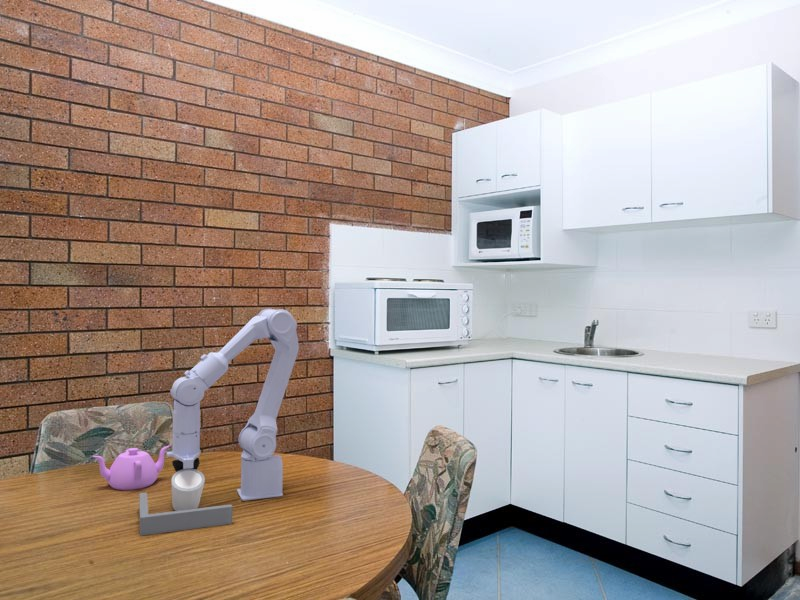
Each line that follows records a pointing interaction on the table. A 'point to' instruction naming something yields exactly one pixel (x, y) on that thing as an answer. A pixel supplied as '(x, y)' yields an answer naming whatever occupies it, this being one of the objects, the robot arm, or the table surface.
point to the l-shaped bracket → (181, 518)
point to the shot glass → (187, 489)
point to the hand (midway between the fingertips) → (185, 492)
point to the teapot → (132, 469)
